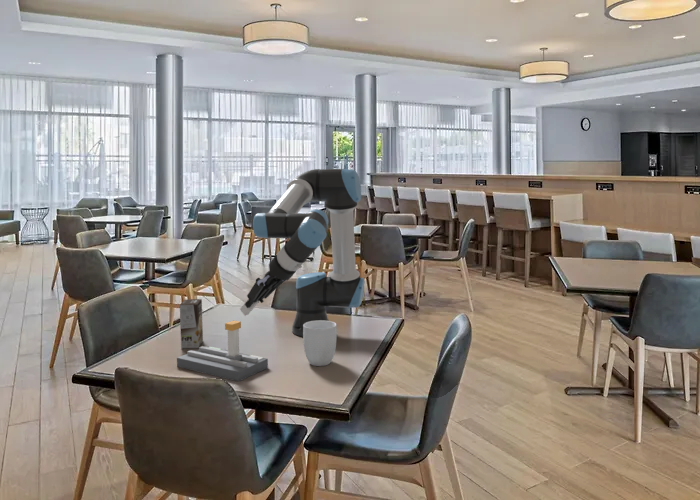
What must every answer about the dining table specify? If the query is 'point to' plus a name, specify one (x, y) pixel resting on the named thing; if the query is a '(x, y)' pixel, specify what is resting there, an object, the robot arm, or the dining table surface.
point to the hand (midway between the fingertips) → (243, 311)
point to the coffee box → (191, 323)
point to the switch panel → (221, 363)
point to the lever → (233, 340)
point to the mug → (319, 341)
